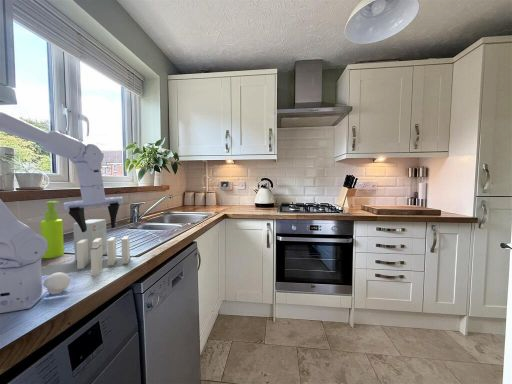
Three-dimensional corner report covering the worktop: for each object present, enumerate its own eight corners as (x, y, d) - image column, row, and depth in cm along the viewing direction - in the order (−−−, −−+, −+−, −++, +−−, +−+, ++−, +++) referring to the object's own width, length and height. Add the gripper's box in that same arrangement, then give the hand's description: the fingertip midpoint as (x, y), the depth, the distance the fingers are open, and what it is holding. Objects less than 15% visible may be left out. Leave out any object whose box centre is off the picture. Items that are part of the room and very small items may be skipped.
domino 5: (127, 263, 75) (127, 239, 75) (122, 263, 75) (121, 239, 74) (129, 258, 80) (129, 235, 79) (124, 259, 79) (123, 236, 79)
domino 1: (83, 268, 71) (82, 242, 71) (77, 269, 71) (76, 243, 70) (88, 263, 75) (87, 239, 75) (82, 263, 75) (81, 239, 74)
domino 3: (98, 276, 66) (97, 247, 66) (91, 277, 66) (90, 248, 65) (102, 270, 70) (101, 243, 70) (96, 271, 70) (95, 244, 69)
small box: (91, 253, 87) (89, 219, 86) (107, 253, 87) (106, 219, 86) (74, 260, 79) (72, 223, 78) (92, 260, 79) (91, 223, 78)
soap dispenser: (68, 252, 88) (65, 200, 87) (59, 258, 82) (56, 201, 81) (49, 253, 86) (46, 200, 85) (38, 260, 80) (35, 202, 79)
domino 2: (99, 266, 73) (98, 241, 72) (93, 267, 72) (92, 241, 72) (102, 261, 77) (101, 238, 76) (97, 262, 76) (96, 238, 76)
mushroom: (39, 294, 55) (39, 274, 55) (64, 287, 59) (64, 267, 59) (49, 300, 53) (49, 278, 53) (73, 291, 57) (73, 272, 57)
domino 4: (113, 264, 74) (112, 240, 74) (107, 265, 73) (107, 240, 73) (116, 260, 78) (115, 236, 78) (111, 260, 78) (110, 237, 77)
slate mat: (127, 266, 74) (127, 265, 74) (30, 278, 65) (30, 276, 65) (131, 257, 82) (131, 256, 82) (46, 267, 73) (46, 265, 73)
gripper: (121, 181, 75) (127, 221, 77) (67, 186, 69) (75, 229, 72) (117, 184, 68) (124, 228, 71) (57, 189, 63) (66, 236, 66)
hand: (99, 229), depth 71 cm, fingers open, 7 cm apart
